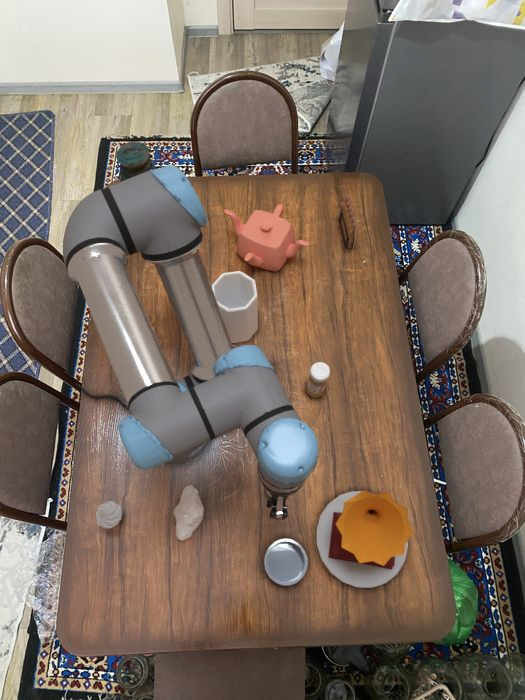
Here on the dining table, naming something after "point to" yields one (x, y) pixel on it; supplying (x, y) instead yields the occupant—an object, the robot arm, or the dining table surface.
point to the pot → (266, 238)
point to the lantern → (134, 160)
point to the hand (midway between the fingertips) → (277, 487)
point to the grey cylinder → (285, 562)
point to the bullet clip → (348, 223)
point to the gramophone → (363, 538)
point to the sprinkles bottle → (317, 379)
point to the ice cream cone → (108, 514)
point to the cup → (237, 304)
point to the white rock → (188, 513)
